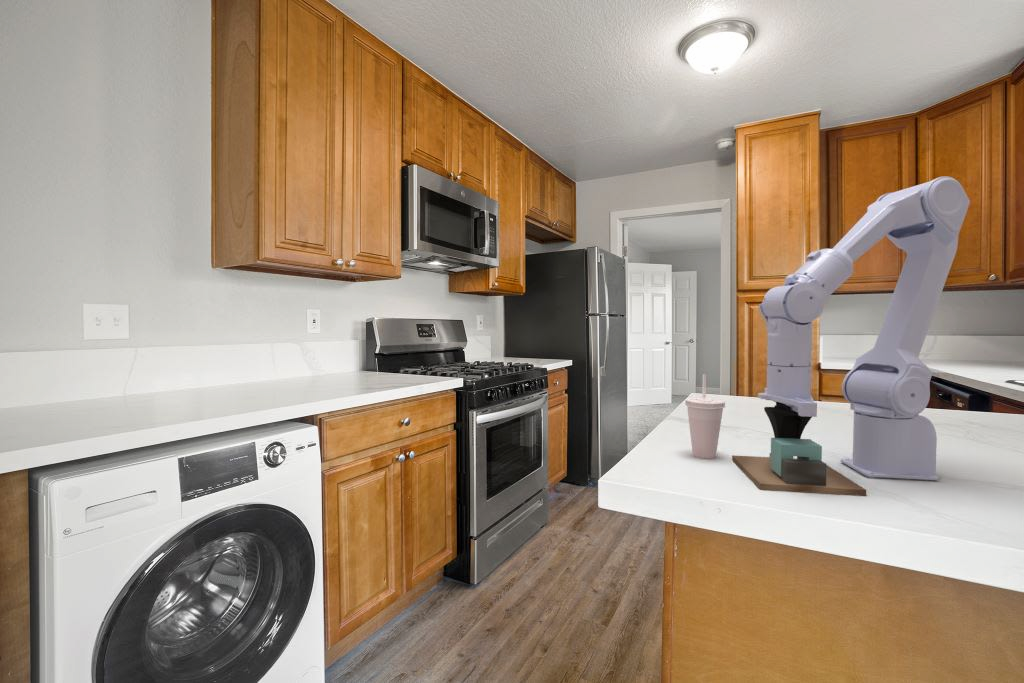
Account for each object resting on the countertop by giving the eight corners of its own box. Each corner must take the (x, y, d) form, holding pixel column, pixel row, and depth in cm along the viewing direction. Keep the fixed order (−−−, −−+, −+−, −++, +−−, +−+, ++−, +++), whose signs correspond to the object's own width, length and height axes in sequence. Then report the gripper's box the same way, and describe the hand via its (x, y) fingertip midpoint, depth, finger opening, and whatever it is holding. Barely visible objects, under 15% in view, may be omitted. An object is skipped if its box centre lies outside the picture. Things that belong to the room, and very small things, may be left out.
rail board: (818, 464, 75) (818, 441, 75) (866, 495, 62) (866, 467, 62) (732, 460, 78) (732, 437, 78) (759, 489, 64) (760, 462, 64)
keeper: (808, 470, 69) (809, 439, 69) (821, 478, 65) (821, 446, 65) (770, 468, 70) (771, 437, 70) (780, 476, 66) (781, 444, 66)
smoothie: (717, 451, 83) (718, 373, 83) (730, 461, 77) (731, 377, 77) (680, 450, 84) (681, 373, 84) (690, 460, 78) (691, 377, 77)
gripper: (745, 361, 78) (743, 441, 78) (777, 369, 63) (775, 468, 64) (791, 361, 76) (790, 443, 77) (835, 370, 62) (832, 471, 63)
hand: (786, 455), depth 70 cm, fingers closed
